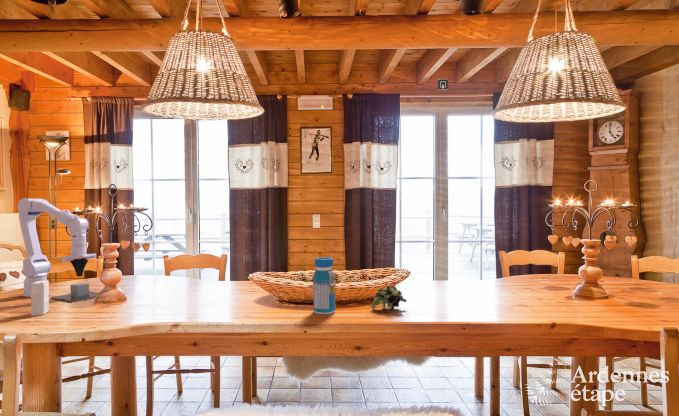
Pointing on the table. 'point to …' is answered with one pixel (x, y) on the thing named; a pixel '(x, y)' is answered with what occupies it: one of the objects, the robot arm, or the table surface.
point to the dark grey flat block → (75, 299)
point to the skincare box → (39, 298)
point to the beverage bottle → (324, 286)
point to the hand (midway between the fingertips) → (79, 276)
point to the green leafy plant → (388, 297)
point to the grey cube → (79, 289)
